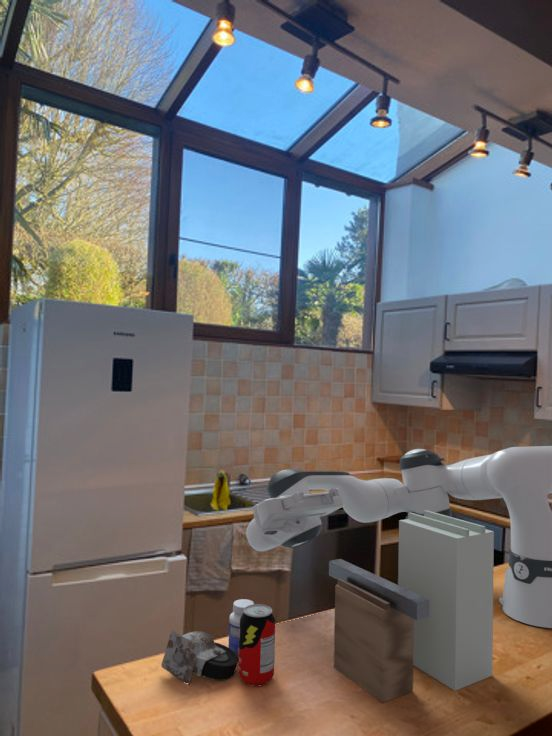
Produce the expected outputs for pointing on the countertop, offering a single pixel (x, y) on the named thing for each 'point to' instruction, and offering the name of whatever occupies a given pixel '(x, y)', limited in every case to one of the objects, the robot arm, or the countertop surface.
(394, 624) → the chassis block
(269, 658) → the beverage can
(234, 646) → the pill bottle
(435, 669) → the stand
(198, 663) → the caster wheel
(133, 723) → the countertop surface
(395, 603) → the bar
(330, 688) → the countertop surface
